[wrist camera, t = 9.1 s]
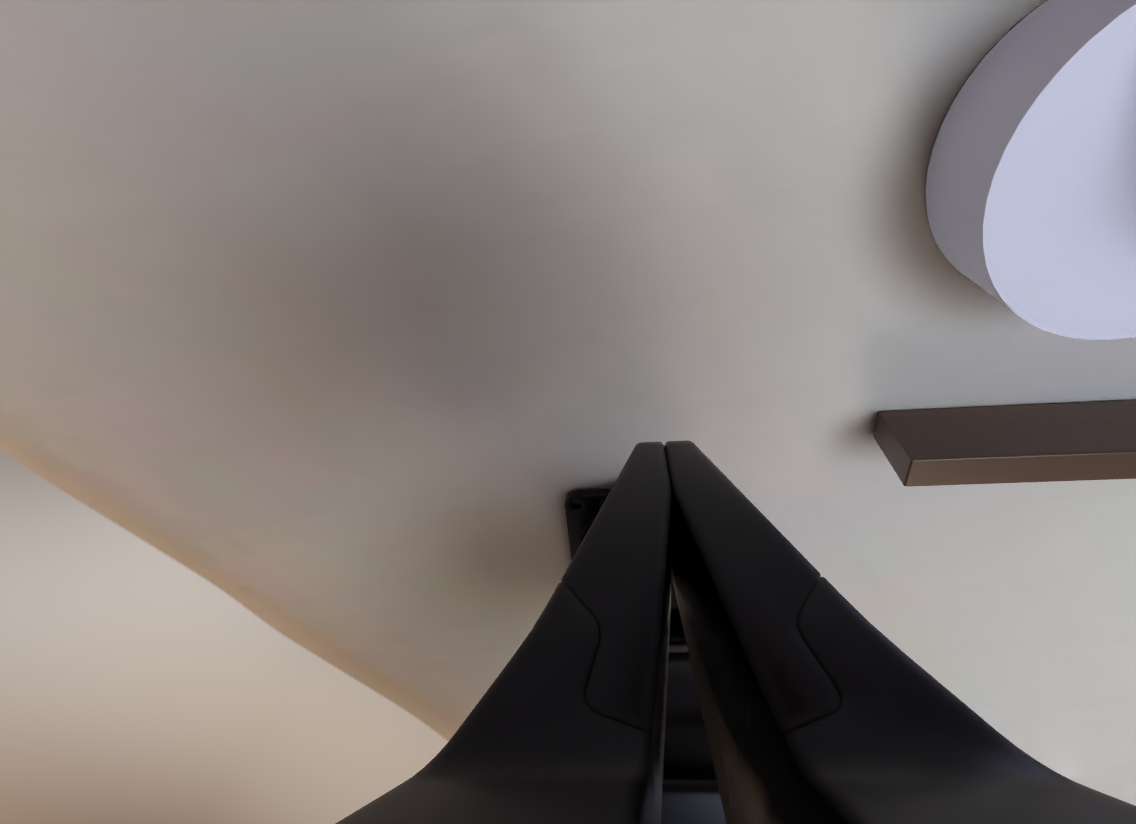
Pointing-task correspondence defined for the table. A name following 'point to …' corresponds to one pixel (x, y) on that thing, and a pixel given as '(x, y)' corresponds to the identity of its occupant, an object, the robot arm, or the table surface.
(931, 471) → the bay
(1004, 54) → the wedge on round base
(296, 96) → the table surface
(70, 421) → the table surface
